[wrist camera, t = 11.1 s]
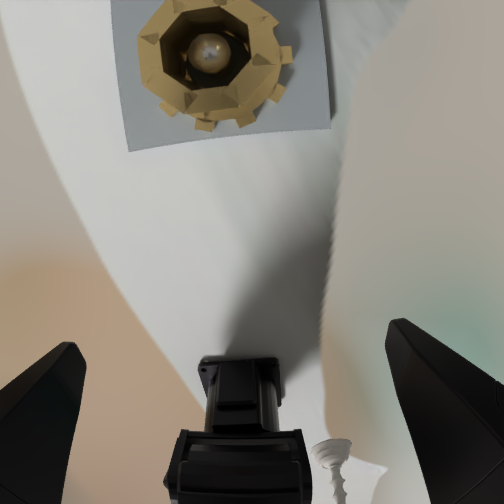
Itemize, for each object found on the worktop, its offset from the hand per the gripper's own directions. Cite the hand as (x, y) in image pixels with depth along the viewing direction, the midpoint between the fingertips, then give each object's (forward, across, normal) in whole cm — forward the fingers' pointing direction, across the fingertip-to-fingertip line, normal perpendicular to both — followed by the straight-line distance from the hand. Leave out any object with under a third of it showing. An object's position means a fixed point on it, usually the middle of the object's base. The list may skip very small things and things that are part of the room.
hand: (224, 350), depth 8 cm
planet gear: (+11, 0, -8) cm, 14 cm away
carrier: (+12, 0, -11) cm, 16 cm away
